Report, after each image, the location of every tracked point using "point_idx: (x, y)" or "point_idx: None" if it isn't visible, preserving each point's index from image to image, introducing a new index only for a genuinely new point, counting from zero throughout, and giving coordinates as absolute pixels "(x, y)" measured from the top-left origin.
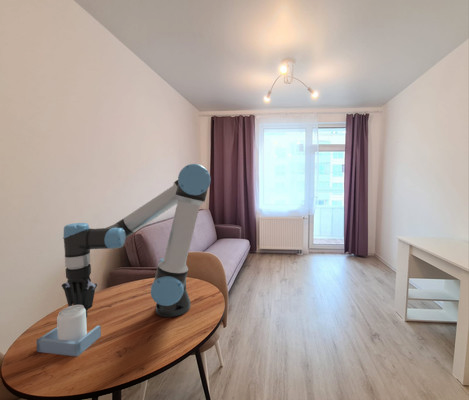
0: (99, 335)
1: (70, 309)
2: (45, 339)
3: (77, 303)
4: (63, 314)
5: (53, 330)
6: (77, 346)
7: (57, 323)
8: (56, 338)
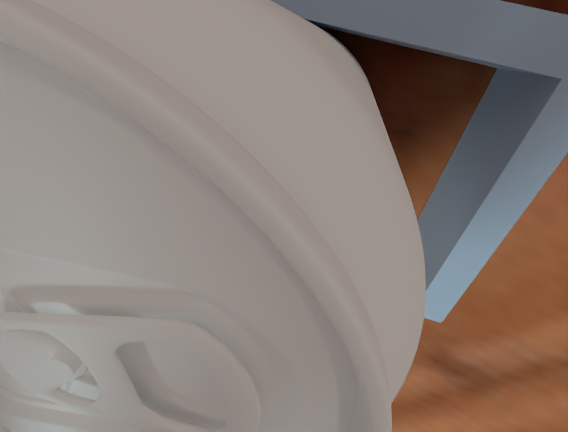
0: None
1: (130, 418)
2: (510, 36)
3: None
4: (75, 189)
5: (488, 214)
6: None
7: (326, 48)
8: (441, 186)
